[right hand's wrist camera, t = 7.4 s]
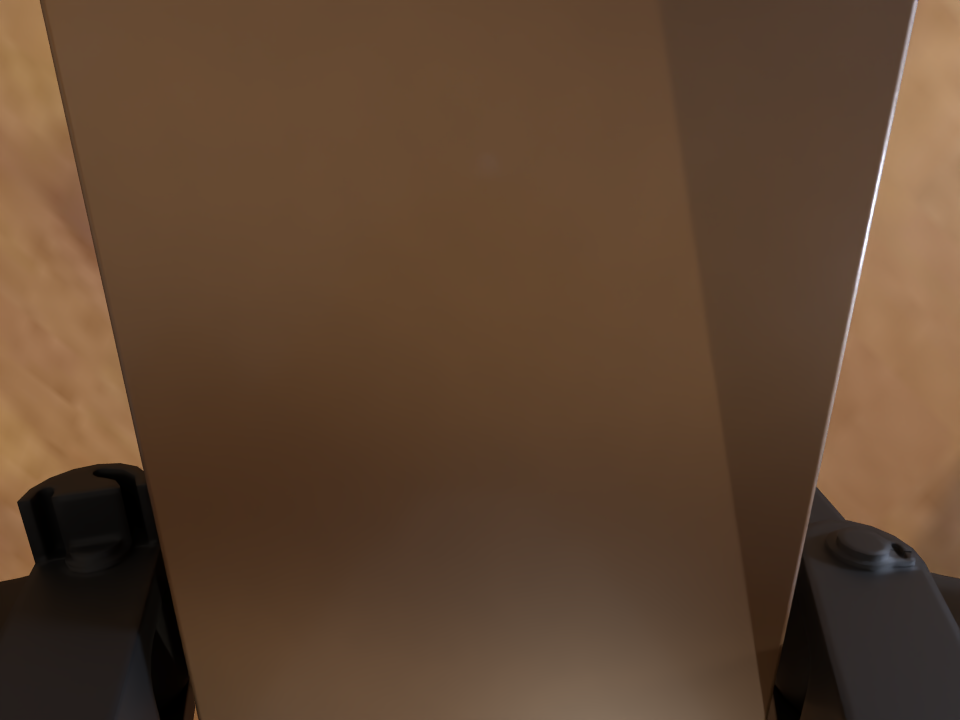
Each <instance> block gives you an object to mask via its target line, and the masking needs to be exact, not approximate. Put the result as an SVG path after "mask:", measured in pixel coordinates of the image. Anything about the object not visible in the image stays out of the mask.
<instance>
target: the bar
mask: <svg viewBox="0 0 960 720" xmlns="http://www.w3.org/2000/svg"><path fill="white" fill-rule="evenodd" d="M40 4H41V8H42V13H43V17H44V22H45V26H46V31H47V35H48V40H49V44H50V49H51V53H52V58H53V62H54V67H55V72H56V76H57V81H58V85H59V90H60V94H61V99H62V103H63V108H64V112H65V117H66V121H67V126H68V130H69V135H70V139H71V144H72V148H73V153H74V158H75V162H76V167H77V171H78V176H79V180H80V185H81V189H82V194H83V198H84V203H85V207H86V212H87V216H88V221H89V225H90V230H91V234H92V239H93V243H94V248H95V253H96V257H97V262H98V266H99V271H100V275H101V280H102V284H103V289H104V293H105V298H106V302H107V307H108V311H109V316H110V320H111V325H112V329H113V334H114V339H115V343H116V348H117V352H118V357H119V361H120V366H121V370H122V375H123V379H124V384H125V388H126V393H127V397H128V402H129V406H130V411H131V415H132V420H133V425H134V429H135V434H136V438H137V443H138V447H139V452H140V456H141V461H142V465H143V470H144V474H145V479H146V483H147V488H148V492H149V497H150V501H151V506H152V510H153V515H154V520H155V524H156V529H157V533H158V538H159V542H160V547H161V551H162V556H163V560H164V565H165V569H166V574H167V578H168V583H169V587H170V592H171V596H172V601H173V606H174V610H175V615H176V619H177V624H178V628H179V633H180V637H181V642H182V646H183V651H184V655H185V660H186V664H187V669H188V673H189V678H190V682H191V687H192V692H193V696H194V701H195V705H196V710H197V714H198V719H199V720H767V718H768V714H769V709H770V704H771V699H772V695H773V690H774V685H775V680H776V676H777V671H778V666H779V661H780V657H781V652H782V647H783V642H784V637H785V633H786V628H787V623H788V618H789V614H790V609H791V604H792V599H793V595H794V590H795V585H796V580H797V575H798V571H799V566H800V561H801V556H802V552H803V547H804V542H805V537H806V533H807V528H808V523H809V518H810V514H811V509H812V504H813V499H814V494H815V490H816V485H817V480H818V475H819V471H820V466H821V461H822V456H823V452H824V447H825V442H826V437H827V432H828V428H829V423H830V418H831V413H832V409H833V404H834V399H835V394H836V390H837V385H838V380H839V375H840V371H841V366H842V361H843V356H844V351H845V347H846V342H847V337H848V332H849V328H850V323H851V318H852V313H853V309H854V304H855V299H856V294H857V289H858V285H859V280H860V275H861V270H862V266H863V261H864V256H865V251H866V247H867V242H868V237H869V232H870V228H871V223H872V218H873V213H874V208H875V204H876V199H877V194H878V189H879V185H880V180H881V175H882V170H883V166H884V161H885V156H886V151H887V146H888V142H889V137H890V132H891V127H892V123H893V118H894V113H895V108H896V104H897V99H898V94H899V89H900V85H901V80H902V75H903V70H904V65H905V61H906V56H907V51H908V46H909V42H910V37H911V32H912V27H913V23H914V18H915V13H916V8H917V4H918V0H40Z"/></svg>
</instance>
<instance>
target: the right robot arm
mask: <svg viewBox="0 0 960 720" xmlns="http://www.w3.org/2000/svg"><path fill="white" fill-rule="evenodd" d="M17 503H18V507H19V510H20V513H21V517H22V520H23V524H24V527H25V530H26V534H27V537H28V540H29V544H30V547H31V550H32V554H33V557H34V560H35V565H34V567H33V569H32V571H31V573H30V575H29V576H25V577H22V578H17V579H12V580H7V581H2V582H0V720H193V719H194V711H195V702H194V696H193V692H192V687H191V682H190V678H189V673H188V669H187V664H186V660H185V655H184V651H183V646H182V642H181V637H180V633H179V628H178V624H177V619H176V615H175V610H174V606H173V601H172V596H171V592H170V587H169V583H168V578H167V574H166V569H165V565H164V560H163V556H162V551H161V547H160V542H159V538H158V533H157V529H156V524H155V520H154V515H153V510H152V506H151V501H150V497H149V492H148V488H147V483H146V479H145V474H144V471H143V470H141V469H140V468H139V467H137V466H132V465H127V464H122V463H114V464H96V465H92V466H87V467H82V468H77V469H73V470H70V471H67V472H65V473H62V474H59V475H57V476H54V477H51V478H49V479H47V480H45V481H44V482H42V483H40V484H38V485H37V486H35V487H33V488H31V489H30V490H29V491H28V492H27V493H26V494H25V495H24V496H23V497H22V498H21V499H20V500H19V501H18V502H17ZM767 720H960V579H958V578H953V577H948V576H943V575H938V574H935V573H931V572H929V570H928V568H927V566H926V564H925V562H924V561H923V560H922V559H921V558H920V556H919V555H918V554H917V553H916V552H915V550H914V549H913V548H911V547H910V546H908V545H907V544H905V543H904V542H903V541H901V540H900V539H898V538H897V537H895V536H893V535H891V534H889V533H886V532H884V531H882V530H879V529H877V528H875V527H872V526H869V525H865V524H861V523H856V522H852V521H848V520H845V519H844V518H843V517H842V515H841V514H840V513H839V512H838V511H837V510H836V509H835V507H834V506H833V505H832V504H831V503H830V502H829V501H828V499H827V498H826V497H825V496H824V495H823V494H822V493H821V492H820V490H819V489H818V488H817V487H816V490H815V494H814V499H813V504H812V509H811V514H810V518H809V523H808V528H807V533H806V537H805V542H804V547H803V552H802V556H801V561H800V566H799V571H798V575H797V580H796V585H795V590H794V595H793V599H792V604H791V609H790V614H789V618H788V623H787V628H786V633H785V637H784V642H783V647H782V652H781V657H780V661H779V666H778V671H777V676H776V680H775V685H774V690H773V695H772V699H771V704H770V709H769V714H768V718H767Z"/></svg>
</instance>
